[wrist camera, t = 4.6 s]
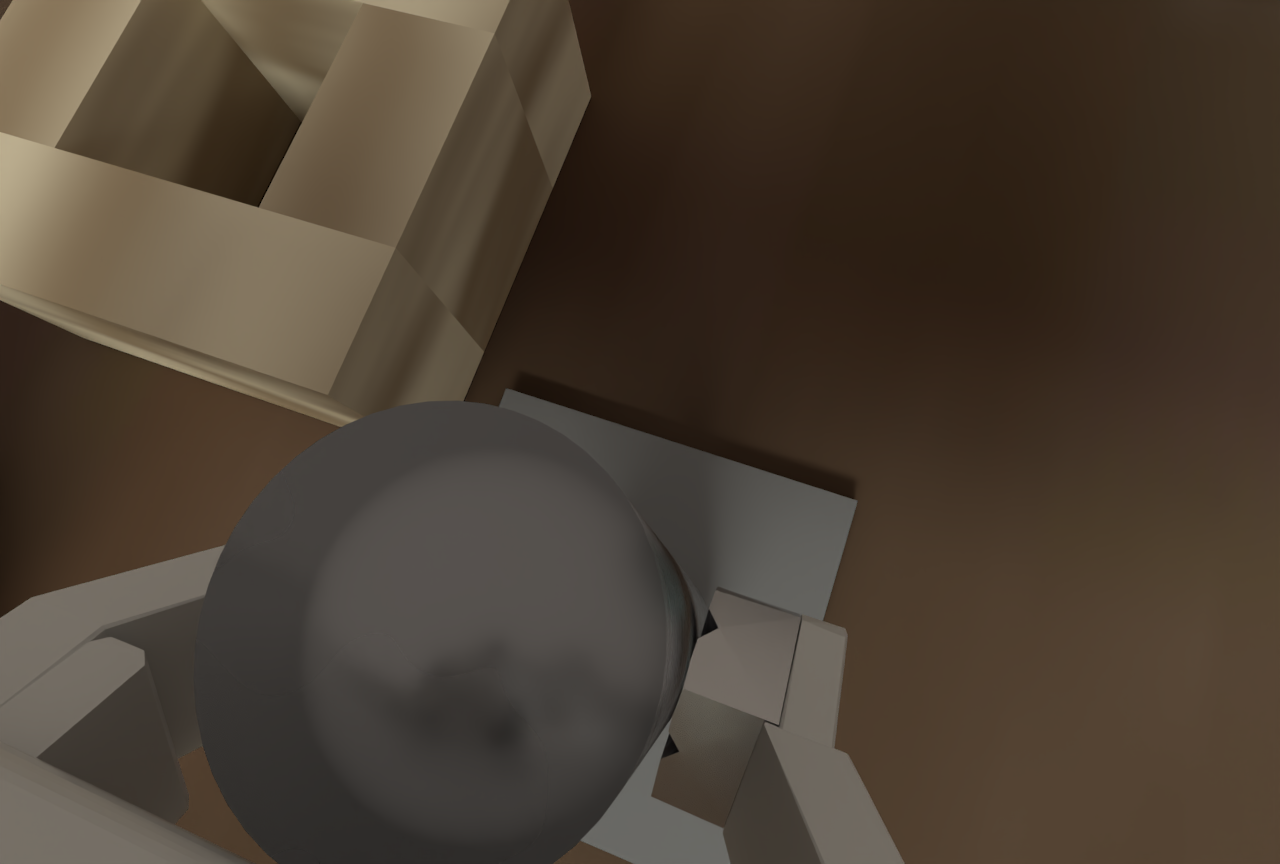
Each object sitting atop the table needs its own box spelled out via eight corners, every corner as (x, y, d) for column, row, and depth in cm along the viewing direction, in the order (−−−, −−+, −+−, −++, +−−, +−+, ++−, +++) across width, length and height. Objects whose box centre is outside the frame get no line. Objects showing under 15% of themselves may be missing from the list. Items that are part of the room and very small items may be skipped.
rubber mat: (854, 503, 16) (857, 500, 15) (738, 900, 14) (738, 908, 14) (511, 393, 17) (506, 387, 17) (369, 742, 16) (360, 746, 15)
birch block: (591, 96, 19) (548, -84, 14) (438, 460, 17) (327, 395, 12) (258, 16, 21) (119, -169, 16) (83, 338, 19) (-138, 237, 14)
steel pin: (731, 582, 14) (732, 479, 5) (681, 741, 14) (561, 1007, 4) (586, 532, 15) (316, 348, 5) (531, 682, 14) (108, 789, 5)
